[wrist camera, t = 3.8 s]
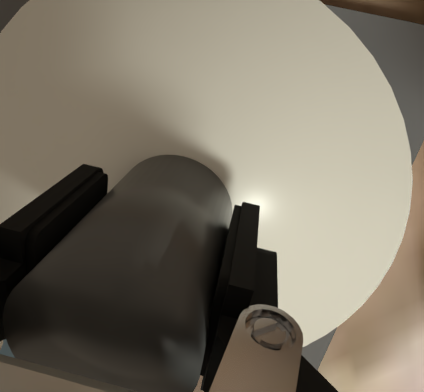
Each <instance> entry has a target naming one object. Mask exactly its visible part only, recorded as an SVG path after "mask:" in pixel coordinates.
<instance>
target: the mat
mask: <svg viewBox="0 0 424 392" xmlns="http://www.w3.org/2000/svg"><path fill="white" fill-rule="evenodd" d="M28 1H29V0H0V33H1V31H2V30H3V29H4V27H5V26H6V25H7V24H8V23H9V21H10V20H11V19H12V18H13V17H14V15H15V14H16V13H17V12H18V11H19V9H20V8H21V7H22V6H23V5H25V4H26V3H27V2H28ZM324 5H325V4H324ZM326 6H327V7H328V8H329V9H330V10H331V11H332V12H333V13H334V14H335V15H337V16H338V17H339V18H340V19H341V20H342V21H343V22H344V23H345V24H346V25H348V26H349V27H350V28H351V30H352V31H353V32H354V33H355V35H356V36H357V37H358V38H359V39H360V41H361V42H362V43H363V44H364V46H365V47H366V48H367V49H368V51H369V52H370V53H371V54H372V56H373V57H374V59H375V60H376V62H377V64H378V65H379V67H380V69H381V71H382V72H383V74H384V76H385V77H386V79H387V81H388V83H389V84H390V86H391V88H392V90H393V93H394V96H395V98H396V101H397V103H398V106H399V108H400V111H401V114H402V116H403V119H404V123H405V127H406V132H407V136H408V141H409V145H410V150H411V164H413V162H414V160H415V158H416V156H417V153H418V151H419V149H420V147H421V145H422V143H423V140H424V25H422V24H417V23H413V22H408V21H403V20H398V19H393V18H388V17H383V16H379V15H374V14H369V13H364V12H359V11H354V10H349V9H344V8H340V7H335V6H330V5H326ZM336 329H337V327H336V328H335V329H334V330H332V331H331V332H329V333H328V334H327V335H325V336H323V337H321V338H319V339H318V340H316V341H314V342H312V343H310V344H308V345H307V346H305V347H302V354H301V355H302V356H303V357H304V358H305V359H306V360H307V361H308V362H309V363H310V364H311V365H312V366H313V367H314V368H315V369H316V370H318V368H319V366H320V363H321V361H322V359H323V357H324V355H325V353H326V350H327V348H328V346H329V344H330V342H331V340H332V337H333V335H334V333H335V331H336Z"/></svg>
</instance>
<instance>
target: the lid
mask: <svg viewBox="0 0 424 392" xmlns="http://www.w3.org/2000/svg"><path fill="white" fill-rule="evenodd" d="M82 164H87V165H91V166H95V167H99V168H102V169H103V173H105V174H107V175H108V189H107V194H106V195H105V196H104V197H103V199H102V200H101V201H100V202H99V203H98V204H97V205H96V206H95V207H94V208H93V209H92V210H91V211H90V212H89V213H88V214H87V215H86V216H85V217H84V218H83V219H82V220H81V221H80V222H79V223H78V224H77V225H76V226H75V227H74V228H73V229H72V230H71V231H70V232H69V233H68V234H67V235H66V236H65V237H64V238H63V239H62V240H61V241H60V242H59V243H58V244H57V245H56V246H55V247H54V248H53V249H52V250H51V251H50V252H49V253H48V254H47V255H46V256H45V257H44V258H43V259H42V260H41V261H40V262H39V263H38V264H37V265H36V266H35V267H34V268H33V269H32V270H31V271H30V272H29V273H28V274H27V275H26V276H25V277H24V278H23V279H22V280H21V281H20V282H19V284H18V285H17V286H16V287H15V288H14V289H13V290H12V291H11V293H10V295H9V296H8V298H7V300H6V303H5V306H4V311H3V329H4V334H5V337H6V340H7V343H8V346H9V348H10V350H11V352H12V354H13V355H14V357H15V358H17V359H20V360H24V361H28V362H31V363H35V364H39V365H42V366H46V367H50V368H53V369H57V370H61V371H64V372H68V373H72V374H75V375H79V376H83V377H87V378H90V379H94V380H97V381H101V382H105V383H108V384H112V385H115V386H119V387H123V388H126V389H130V390H133V391H137V392H193V391H194V389H195V387H196V386H197V383H198V380H199V377H200V372H201V368H202V363H203V358H204V353H205V348H206V343H207V339H208V333H209V318H210V313H211V309H212V304H213V299H214V295H215V290H216V285H217V281H218V276H219V272H220V267H221V262H222V258H223V253H224V248H225V244H226V239H227V235H228V230H229V226H230V222H231V218H232V214H233V210H234V206H235V205H239V206H241V205H242V202H246V203H251V204H255V205H259V206H260V212H259V226H258V241H257V248H261V249H266V250H270V251H274V252H276V253H277V278H278V308H279V309H281V310H283V311H285V312H286V313H288V314H289V315H290V316H291V317H293V318H294V320H295V321H296V322H297V323H298V325H299V326H300V328H301V331H302V333H303V347H305V346H307V345H308V344H310V343H312V342H314V341H316V340H318V339H319V338H321V337H323V336H325V335H327V334H328V333H329V332H331V331H332V330H334V329H335V328H336V327H338V326H339V325H341V324H342V323H343V322H345V321H346V320H347V319H348V318H349V317H350V316H351V315H352V314H353V313H355V312H356V311H357V310H358V309H359V308H360V307H361V306H362V305H363V304H364V303H365V302H366V300H367V299H368V298H369V297H370V295H371V294H372V293H373V292H374V291H375V289H376V288H377V287H378V286H379V284H380V283H381V281H382V279H383V278H384V276H385V274H386V273H387V271H388V269H389V268H390V266H391V265H392V263H393V261H394V258H395V256H396V253H397V251H398V249H399V246H400V244H401V242H402V239H403V236H404V232H405V228H406V224H407V220H408V216H409V212H410V204H411V193H412V183H413V180H412V164H411V150H410V145H409V141H408V136H407V132H406V127H405V123H404V119H403V116H402V114H401V111H400V108H399V106H398V103H397V101H396V98H395V96H394V93H393V90H392V88H391V86H390V84H389V83H388V81H387V79H386V77H385V76H384V74H383V72H382V71H381V69H380V67H379V65H378V64H377V62H376V60H375V59H374V57H373V56H372V54H371V53H370V52H369V51H368V49H367V48H366V47H365V46H364V44H363V43H362V42H361V41H360V39H359V38H358V37H357V36H356V35H355V33H354V32H353V31H352V30H351V28H350V27H349V26H348V25H346V24H345V23H344V22H343V21H342V20H341V19H340V18H339V17H338V16H337V15H335V14H334V13H333V12H332V11H331V10H330V9H329V8H328V7H327V6H326V5H324V4H323V3H322V2H321V1H319V0H29V1H28V2H27V3H26V4H25V5H23V6H22V7H21V8H20V9H19V11H18V12H17V13H16V14H15V15H14V17H13V18H12V19H11V20H10V21H9V23H8V24H7V25H6V26H5V27H4V29H3V30H2V31H1V33H0V224H1V223H2V222H4V221H5V220H6V219H8V218H9V217H11V216H12V215H13V214H15V213H16V212H17V211H19V210H20V209H22V208H23V207H24V206H26V205H27V204H28V203H30V202H31V201H33V200H34V199H35V198H37V197H38V196H39V195H41V194H42V193H44V192H45V191H46V190H48V189H49V188H51V187H52V186H53V185H55V184H56V183H57V182H59V181H60V180H62V179H63V178H64V177H66V176H67V175H68V174H70V173H71V172H73V171H74V170H75V169H77V168H78V167H79V166H81V165H82Z"/></svg>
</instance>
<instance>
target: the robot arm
mask: <svg viewBox="0 0 424 392" xmlns="http://www.w3.org/2000/svg"><path fill="white" fill-rule="evenodd" d="M107 189H108V175H107V174H105V173H103V169H102V168H99V167H95V166H91V165H87V164H82V165H81V166H79V167H78V168H77V169H75V170H74V171H73V172H71V173H70V174H68V175H67V176H66V177H64V178H63V179H62V180H60V181H59V182H57V183H56V184H55V185H53V186H52V187H51V188H49V189H48V190H46V191H45V192H44V193H42V194H41V195H39V196H38V197H37V198H35V199H34V200H33V201H31V202H30V203H28V204H27V205H26V206H24V207H23V208H22V209H20V210H19V211H17V212H16V213H15V214H13V215H12V216H11V217H9V218H8V219H6V220H5V221H4V222H2V223H1V224H0V350H1V347H2V345H3V340H5V339H6V337H5V334H4V329H3V311H4V306H5V303H6V300H7V298H8V296H9V295H10V293H11V291H12V290H13V289H14V288H15V287H16V286H17V285H18V284H19V282H20V281H21V280H22V279H23V278H24V277H25V276H26V275H27V274H28V273H29V272H30V271H31V270H32V269H33V268H34V267H35V266H36V265H37V264H38V263H39V262H40V261H41V260H42V259H43V258H44V257H45V256H46V255H47V254H48V253H49V252H50V251H51V250H52V249H53V248H54V247H55V246H56V245H57V244H58V243H59V242H60V241H61V240H62V239H63V238H64V237H65V236H66V235H67V234H68V233H69V232H70V231H71V230H72V229H73V228H74V227H75V226H76V225H77V224H78V223H79V222H80V221H81V220H82V219H83V218H84V217H85V216H86V215H87V214H88V213H89V212H90V211H91V210H92V209H93V208H94V207H95V206H96V205H97V204H98V203H99V202H100V201H101V200H102V199H103V197H104V196H105V195H106V194H107ZM259 212H260V206H259V205H255V204H251V203H246V202H242V205H241V206H239V205H235V206H234V210H233V214H232V218H231V222H230V226H229V230H228V235H227V239H226V244H225V248H224V253H223V258H222V262H221V267H220V272H219V276H218V281H217V285H216V290H215V295H214V299H213V304H212V309H211V313H210V318H209V333H208V339H207V343H206V348H205V353H204V358H203V363H202V368H201V372H200V375H202V376H203V380H202V385H201V390H203V391H204V392H338V391H337V390H336V389H335V388H334V387H333V386H332V385H331V384H330V383H329V382H328V381H327V380H326V379H325V378H324V377H323V376H322V375H321V374H320V373H319V372H318V371H317V370H316V369H315V368H314V367H313V366H312V365H311V364H310V363H309V362H308V361H307V360H306V359H305V358H304V357H303V356H302V355H301V354H302V347H303V333H302V331H301V328H300V326H299V325H298V323H297V322H296V321H295V320H294V318H293V317H291V316H290V315H289V314H288V313H286V312H285V311H283V310H281V309H279V308H278V278H277V253H276V252H274V251H270V250H266V249H261V248H257V241H258V226H259ZM0 392H137V391H133V390H130V389H126V388H123V387H119V386H115V385H112V384H108V383H105V382H101V381H97V380H94V379H90V378H87V377H83V376H79V375H75V374H72V373H68V372H64V371H61V370H57V369H53V368H50V367H46V366H42V365H39V364H35V363H31V362H28V361H24V360H20V359H17V358H13V357H9V356H6V355H2V354H0Z"/></svg>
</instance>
